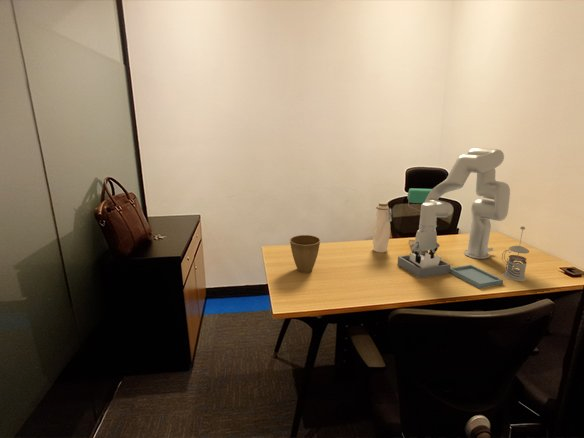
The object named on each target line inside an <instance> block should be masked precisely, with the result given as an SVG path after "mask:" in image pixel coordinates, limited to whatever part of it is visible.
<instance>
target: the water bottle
mask: <svg viewBox="0 0 584 438" xmlns="http://www.w3.org/2000/svg"><path fill="white" fill-rule="evenodd" d="M375 209H376V222H375V232H374V233H373V234H374V235H373V237H372V245H373V247H372V250H373V251H374V252H377V253H386V252H387V250H388V247H389V241H390V237H391V222H392V221H393V216H392V215H393V214H392V208H390V207H389V204H388V202H385V201H384V202H383V201H381V202H378V205H377V206H376V207H375Z"/></svg>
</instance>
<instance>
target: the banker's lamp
mask: <svg viewBox="0 0 584 438" xmlns="http://www.w3.org/2000/svg"><path fill="white" fill-rule="evenodd" d="M432 189H433V188H414V187H413V188H412V187H411V188H409V189H408V192H407V198H406V199H407V200H408V201H407V203H408V204H407V206H408V208H411V209H413V210H416V211H418V212H420V213H421V210H419V209H417V208H415V207H413V206H411V205H410V204H423V203H424V202H425V200H426V198H427V196H428V194H429V193H430V191H431V190H432ZM414 244H415V239H408V245H409V247H410V250H411V248H412V247H413V246H414ZM416 250H417V249H416ZM411 253H413V254H414V252H413V251H412V250H411ZM418 253H419V252H418ZM422 253H428V254H429V250H427V251H422Z"/></svg>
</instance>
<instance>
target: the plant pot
mask: <svg viewBox="0 0 584 438" xmlns="http://www.w3.org/2000/svg"><path fill="white" fill-rule="evenodd" d="M289 243H290V249H291V253H292V259H293V261H294V263H295V267H296V269H297V271H299V272H300V273H310V272H312V271H313V269H314V266H315V264H316V261H317V258H318V254H319V250H320V244H321V239H320V238H319V237H318V236H316V235H309V234H300V235H295V236H293V237H291V238H290V239H289Z"/></svg>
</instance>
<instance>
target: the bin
mask: <svg viewBox="0 0 584 438" xmlns="http://www.w3.org/2000/svg"><path fill="white" fill-rule="evenodd" d="M425 254H426V253H421V255H423V256H425ZM410 255H411V254H406V255H405V254H404V255H399V256H398V257H397V265H398V266H399V267H400V268H403V269H404V270H406V271H407V272H409V273H410V274H412V275H414V276H415V277H417V278H419V279H422V278H428V277H434V276H442V275H447V274H451V273H450V268H451V264H450V263H448V262H446V261H445V260H442V259H440V261H439V264H438V266H434V267H427V268H421V267H420V266H418V265H417V264H415V263H414V262H412V261H410V260H409V258H410Z"/></svg>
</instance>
